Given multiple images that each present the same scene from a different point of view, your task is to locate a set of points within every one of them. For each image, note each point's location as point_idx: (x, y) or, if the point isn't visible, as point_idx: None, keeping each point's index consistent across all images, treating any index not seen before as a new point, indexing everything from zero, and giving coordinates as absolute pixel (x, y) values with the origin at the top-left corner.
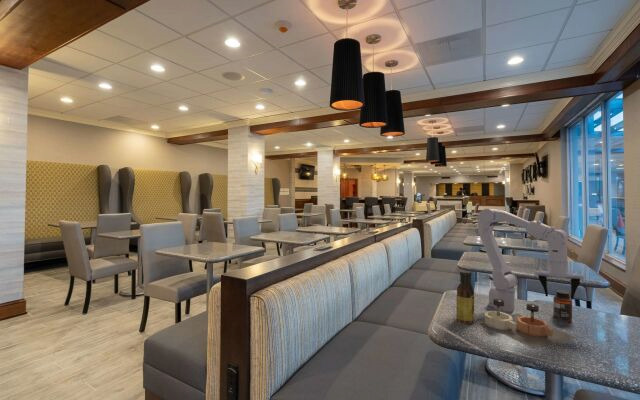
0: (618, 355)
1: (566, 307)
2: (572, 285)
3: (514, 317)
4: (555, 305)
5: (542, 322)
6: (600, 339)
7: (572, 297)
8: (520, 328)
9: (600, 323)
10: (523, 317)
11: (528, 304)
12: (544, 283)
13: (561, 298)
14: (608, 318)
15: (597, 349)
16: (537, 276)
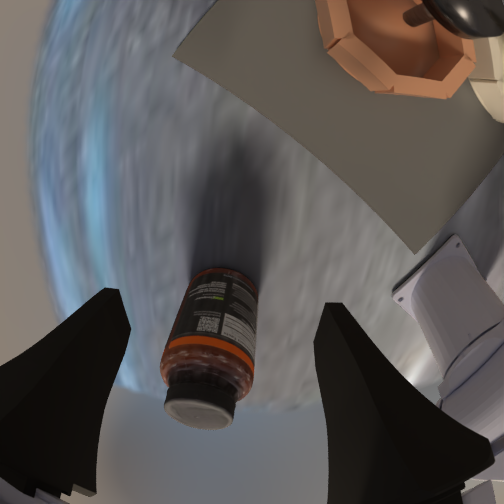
0: (70, 18)
1: (191, 319)
2: (14, 397)
3: (442, 190)
4: (247, 333)
5: (353, 37)
6: (94, 137)
7: (99, 298)
8: None
9: None
10: (450, 72)
11: (498, 15)
12: (417, 424)
13: (209, 367)
14: None
15: (119, 12)
16: (474, 489)
